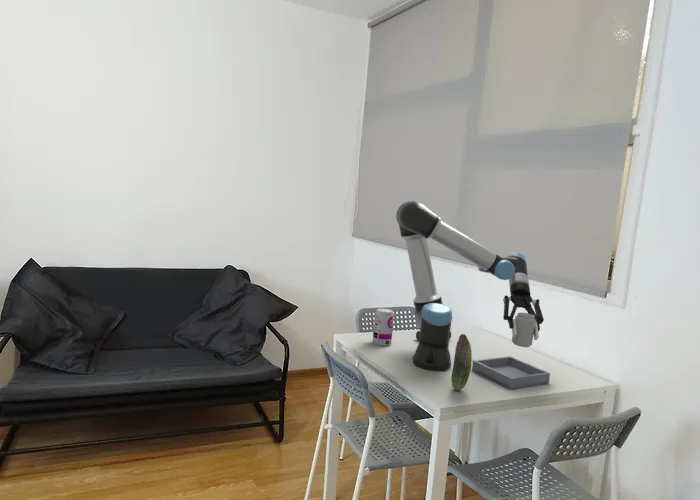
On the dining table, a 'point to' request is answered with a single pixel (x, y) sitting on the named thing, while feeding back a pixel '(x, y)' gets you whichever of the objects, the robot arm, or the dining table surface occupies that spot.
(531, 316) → the can
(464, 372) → the vegetable
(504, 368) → the box
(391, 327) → the supplement can
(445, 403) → the dining table surface
